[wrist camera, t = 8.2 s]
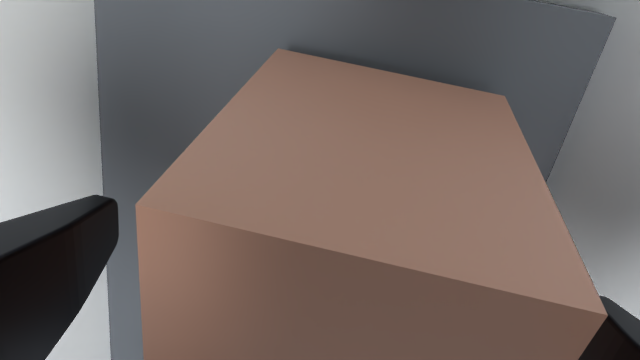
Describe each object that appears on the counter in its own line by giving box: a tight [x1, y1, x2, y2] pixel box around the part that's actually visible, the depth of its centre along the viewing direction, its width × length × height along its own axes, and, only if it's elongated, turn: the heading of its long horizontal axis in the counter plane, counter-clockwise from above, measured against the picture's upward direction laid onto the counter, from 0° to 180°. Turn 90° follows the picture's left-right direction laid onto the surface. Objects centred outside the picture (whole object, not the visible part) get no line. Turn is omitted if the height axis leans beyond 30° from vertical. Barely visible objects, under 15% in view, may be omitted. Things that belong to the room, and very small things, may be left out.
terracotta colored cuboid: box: [135, 48, 608, 360], centre depth 9 cm, size 5×5×7 cm
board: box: [94, 0, 616, 360], centre depth 15 cm, size 16×12×1 cm
